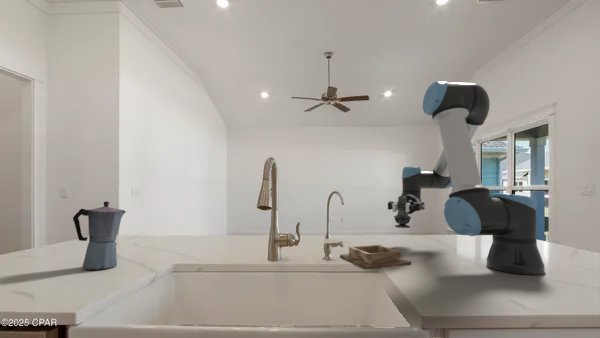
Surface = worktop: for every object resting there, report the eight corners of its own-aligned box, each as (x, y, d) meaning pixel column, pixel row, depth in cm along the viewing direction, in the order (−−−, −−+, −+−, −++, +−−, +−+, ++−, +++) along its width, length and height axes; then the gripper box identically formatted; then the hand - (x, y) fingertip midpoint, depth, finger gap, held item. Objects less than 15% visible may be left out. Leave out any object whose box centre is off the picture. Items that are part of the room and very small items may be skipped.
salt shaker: (412, 228, 112) (412, 193, 112) (394, 227, 113) (394, 193, 114) (410, 226, 118) (410, 192, 118) (393, 225, 119) (393, 192, 119)
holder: (411, 264, 106) (410, 252, 106) (366, 268, 100) (366, 256, 100) (380, 253, 122) (380, 243, 122) (340, 257, 116) (340, 246, 116)
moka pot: (132, 263, 104) (134, 201, 105) (83, 276, 90) (86, 203, 91) (112, 260, 108) (114, 200, 109) (62, 271, 94) (65, 202, 95)
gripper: (430, 214, 128) (426, 220, 107) (387, 212, 135) (375, 217, 114) (430, 195, 128) (426, 197, 107) (387, 194, 136) (375, 196, 114)
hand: (400, 208), depth 111 cm, fingers closed on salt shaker, 4 cm apart
